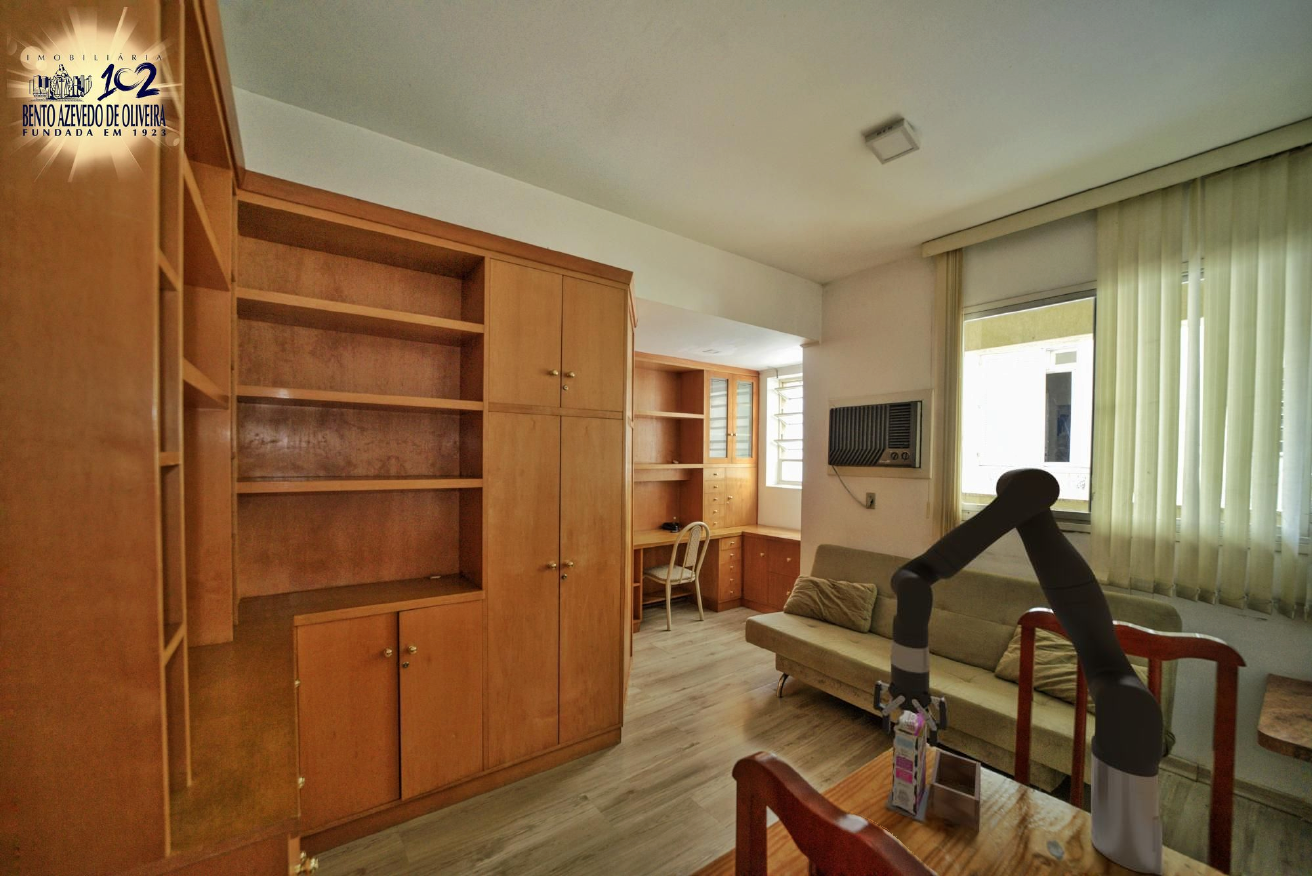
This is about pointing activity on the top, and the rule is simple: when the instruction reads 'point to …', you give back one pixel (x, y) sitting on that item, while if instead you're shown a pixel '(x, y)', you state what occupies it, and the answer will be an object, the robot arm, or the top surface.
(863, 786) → the top surface
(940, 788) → the walnut sleeve
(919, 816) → the grey mat
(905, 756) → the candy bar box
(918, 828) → the top surface
